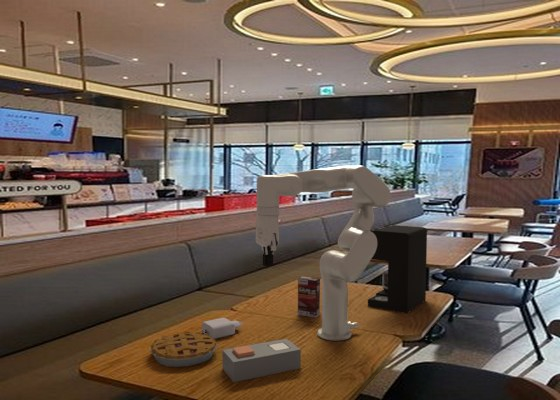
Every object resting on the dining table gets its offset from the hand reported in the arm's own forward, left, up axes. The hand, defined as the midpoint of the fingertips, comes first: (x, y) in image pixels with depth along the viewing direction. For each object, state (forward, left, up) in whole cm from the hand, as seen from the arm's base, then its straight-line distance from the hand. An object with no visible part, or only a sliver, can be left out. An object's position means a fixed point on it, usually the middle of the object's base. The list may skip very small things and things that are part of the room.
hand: (268, 265), depth 155 cm
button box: (+8, +13, -29) cm, 33 cm away
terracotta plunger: (+14, +13, -28) cm, 34 cm away
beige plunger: (+2, +13, -29) cm, 32 cm away
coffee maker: (-78, -26, -29) cm, 87 cm away
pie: (+27, -8, -30) cm, 41 cm away
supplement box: (-31, -27, -29) cm, 50 cm away
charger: (+8, -23, -30) cm, 38 cm away
